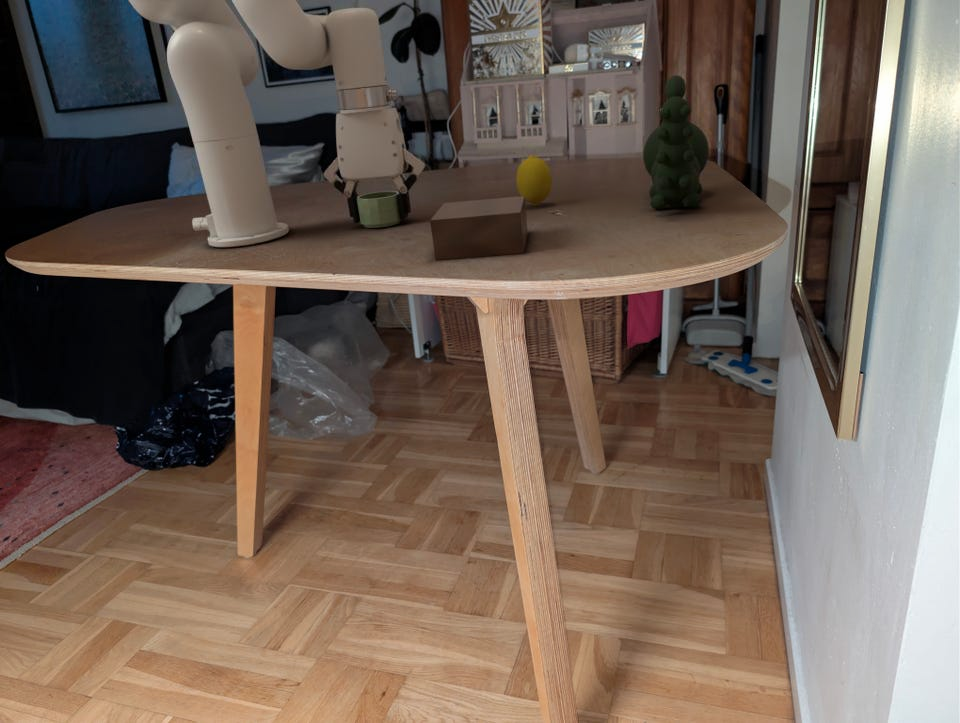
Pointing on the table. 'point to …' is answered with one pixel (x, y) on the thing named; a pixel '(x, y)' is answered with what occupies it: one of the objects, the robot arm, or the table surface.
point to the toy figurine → (675, 152)
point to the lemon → (533, 180)
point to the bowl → (378, 209)
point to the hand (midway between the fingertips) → (381, 218)
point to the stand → (480, 228)
